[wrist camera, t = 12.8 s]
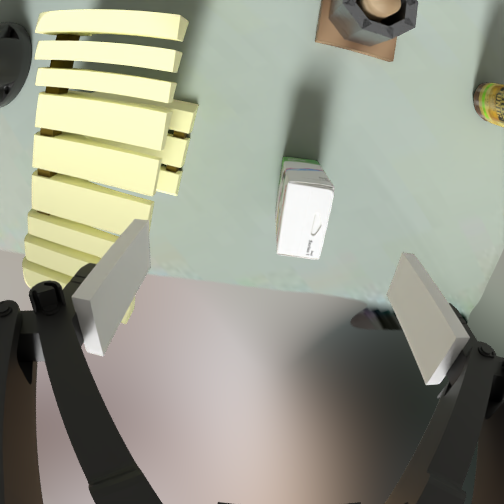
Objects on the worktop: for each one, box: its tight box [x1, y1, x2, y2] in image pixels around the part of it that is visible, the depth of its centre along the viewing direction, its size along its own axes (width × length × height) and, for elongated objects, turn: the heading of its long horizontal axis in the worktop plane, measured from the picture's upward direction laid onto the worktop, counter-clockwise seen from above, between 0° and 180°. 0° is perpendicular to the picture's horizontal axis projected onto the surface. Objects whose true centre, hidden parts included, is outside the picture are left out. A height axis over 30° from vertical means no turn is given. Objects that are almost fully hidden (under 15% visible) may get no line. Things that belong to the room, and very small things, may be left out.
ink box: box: [275, 157, 335, 260], centre depth 38 cm, size 8×5×12 cm, turn 174°
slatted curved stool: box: [22, 9, 199, 324], centre depth 33 cm, size 30×16×18 cm, turn 164°
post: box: [315, 0, 401, 62], centre depth 27 cm, size 10×10×10 cm
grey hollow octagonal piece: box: [328, 0, 418, 47], centre depth 26 cm, size 8×8×8 cm
